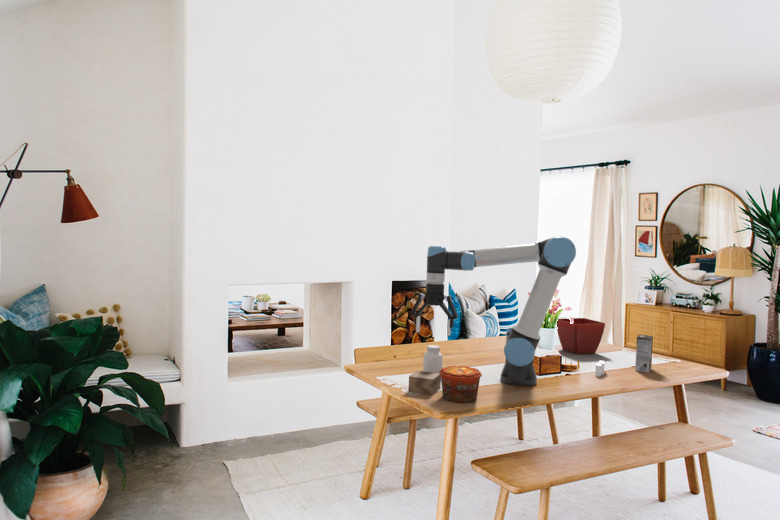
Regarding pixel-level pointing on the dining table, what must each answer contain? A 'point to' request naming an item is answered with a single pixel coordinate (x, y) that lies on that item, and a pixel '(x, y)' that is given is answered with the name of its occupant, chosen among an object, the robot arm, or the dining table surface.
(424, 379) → the walnut block
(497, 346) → the dining table surface
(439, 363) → the pill bottle
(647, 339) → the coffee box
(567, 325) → the plant pot
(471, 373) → the food container
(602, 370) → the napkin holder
